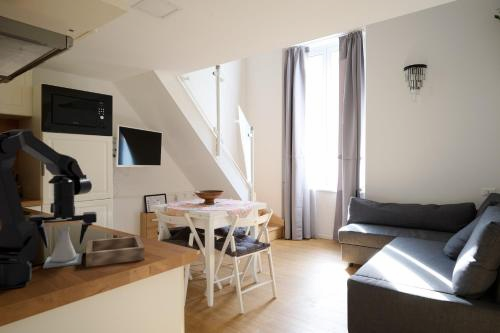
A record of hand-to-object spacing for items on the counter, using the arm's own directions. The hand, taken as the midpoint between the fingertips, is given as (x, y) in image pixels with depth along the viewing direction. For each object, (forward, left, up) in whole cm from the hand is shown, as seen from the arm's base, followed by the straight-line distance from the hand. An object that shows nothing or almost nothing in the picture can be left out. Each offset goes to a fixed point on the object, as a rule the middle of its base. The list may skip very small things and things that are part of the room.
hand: (64, 245), depth 100 cm
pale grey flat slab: (0, 0, -5) cm, 5 cm away
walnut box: (+15, 0, -5) cm, 16 cm away
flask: (0, 0, -5) cm, 5 cm away
